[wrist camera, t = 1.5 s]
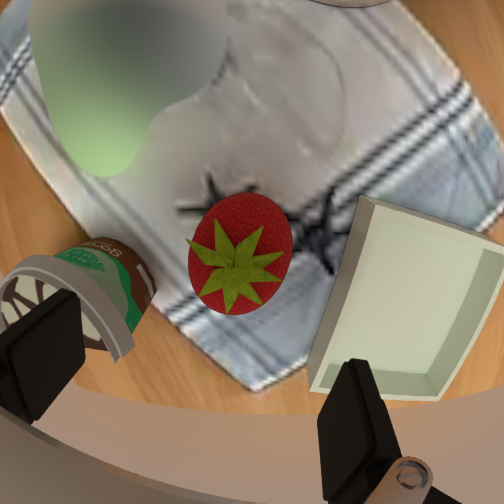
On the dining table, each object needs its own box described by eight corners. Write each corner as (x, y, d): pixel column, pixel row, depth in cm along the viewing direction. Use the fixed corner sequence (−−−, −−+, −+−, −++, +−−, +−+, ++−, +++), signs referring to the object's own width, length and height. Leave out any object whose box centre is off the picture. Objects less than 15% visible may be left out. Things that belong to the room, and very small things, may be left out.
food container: (162, 220, 24) (95, 266, 14) (172, 291, 26) (122, 364, 16) (49, 227, 25) (-26, 264, 16) (62, 287, 27) (-1, 338, 18)
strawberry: (197, 262, 25) (151, 330, 15) (227, 170, 22) (188, 188, 13) (268, 287, 25) (259, 369, 15) (304, 198, 22) (321, 237, 13)
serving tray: (360, 194, 22) (375, 204, 18) (488, 236, 21) (514, 250, 18) (306, 361, 27) (309, 391, 23) (425, 375, 27) (438, 401, 23)
